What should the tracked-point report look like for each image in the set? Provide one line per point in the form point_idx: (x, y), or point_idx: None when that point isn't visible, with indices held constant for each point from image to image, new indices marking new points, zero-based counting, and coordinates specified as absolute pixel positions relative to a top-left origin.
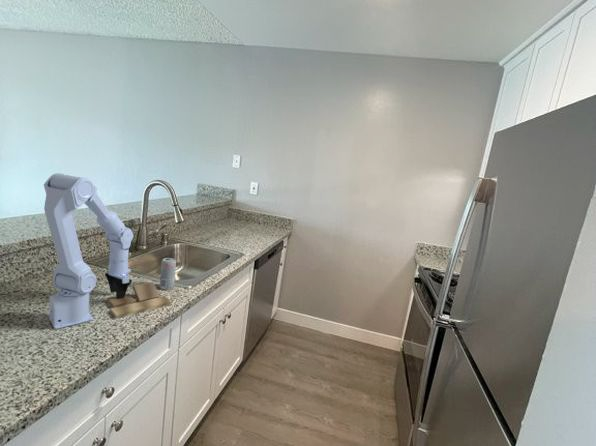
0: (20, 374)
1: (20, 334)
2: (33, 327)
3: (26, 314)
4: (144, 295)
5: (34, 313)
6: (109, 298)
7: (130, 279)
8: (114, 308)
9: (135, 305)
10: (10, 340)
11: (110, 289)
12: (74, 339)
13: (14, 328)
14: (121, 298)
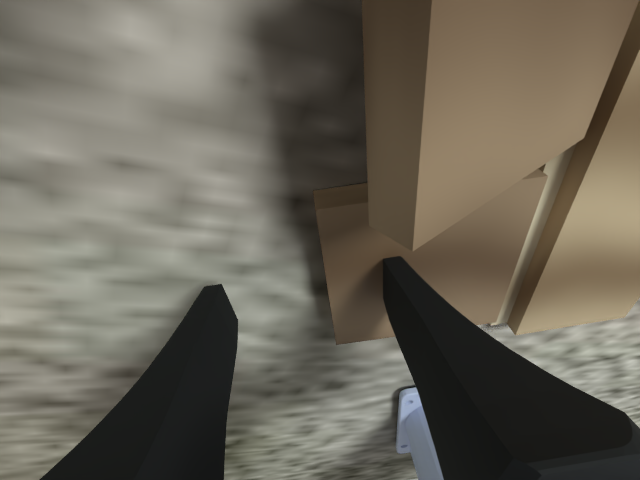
0: None
1: None
2: None
3: (329, 474)
4: (582, 65)
5: (332, 466)
6: (355, 334)
7: (582, 470)
8: (533, 319)
9: (627, 198)
10: None
11: (233, 354)
12: (604, 396)
13: (408, 473)
14: None
